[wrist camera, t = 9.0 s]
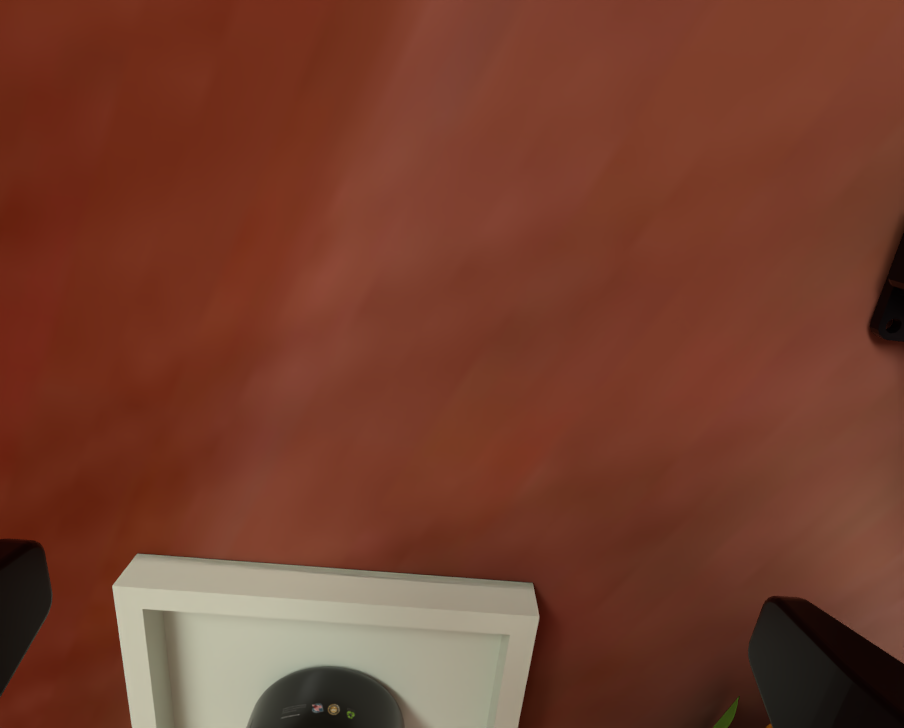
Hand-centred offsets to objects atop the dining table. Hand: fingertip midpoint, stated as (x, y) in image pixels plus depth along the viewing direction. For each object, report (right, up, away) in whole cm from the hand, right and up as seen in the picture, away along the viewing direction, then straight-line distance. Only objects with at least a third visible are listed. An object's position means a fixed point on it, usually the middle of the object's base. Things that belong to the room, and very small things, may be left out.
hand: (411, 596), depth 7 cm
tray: (-5, -13, +19) cm, 23 cm away
